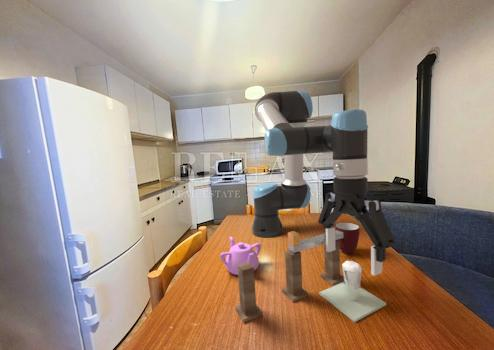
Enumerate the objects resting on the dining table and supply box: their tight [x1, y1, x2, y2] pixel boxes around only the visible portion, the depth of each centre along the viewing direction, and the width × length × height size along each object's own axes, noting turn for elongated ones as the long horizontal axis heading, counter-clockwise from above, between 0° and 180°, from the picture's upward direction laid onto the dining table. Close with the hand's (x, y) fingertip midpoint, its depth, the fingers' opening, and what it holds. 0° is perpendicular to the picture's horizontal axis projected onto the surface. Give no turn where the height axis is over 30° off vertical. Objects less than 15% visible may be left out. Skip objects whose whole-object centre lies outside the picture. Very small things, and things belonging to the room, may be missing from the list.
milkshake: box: [340, 260, 363, 301], centre depth 55 cm, size 4×5×10 cm
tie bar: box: [287, 230, 343, 253], centre depth 61 cm, size 2×18×5 cm, turn 115°
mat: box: [318, 281, 387, 323], centre depth 55 cm, size 11×11×1 cm
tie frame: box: [234, 240, 344, 323], centre depth 58 cm, size 5×33×12 cm, turn 115°
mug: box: [334, 222, 360, 255], centre depth 79 cm, size 10×8×10 cm
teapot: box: [219, 235, 262, 276], centre depth 74 cm, size 12×14×9 cm
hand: (351, 260), depth 54 cm, fingers open, 13 cm apart
